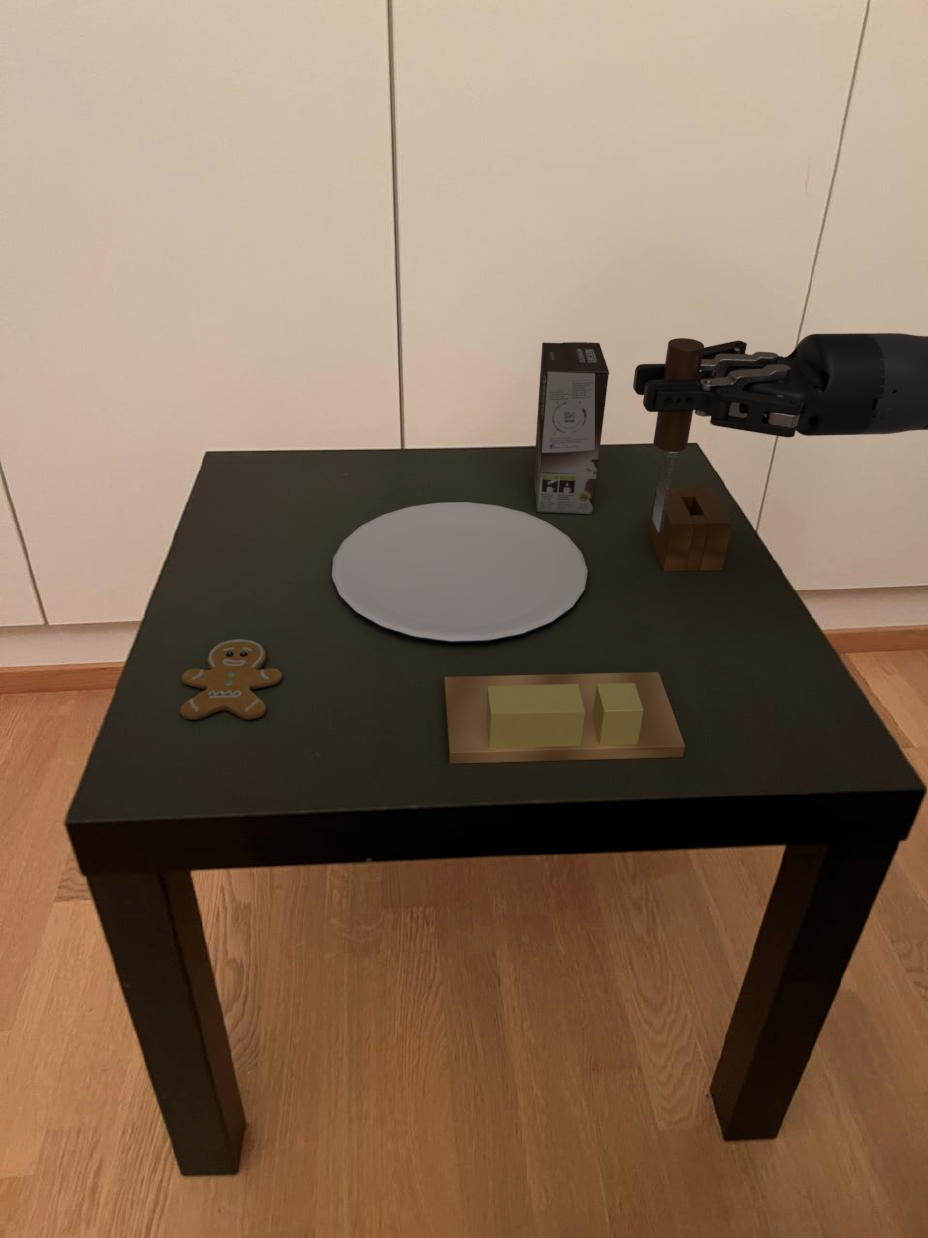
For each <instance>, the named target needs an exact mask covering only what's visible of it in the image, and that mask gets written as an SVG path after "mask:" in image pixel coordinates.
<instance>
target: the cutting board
mask: <svg viewBox="0 0 928 1238" xmlns="http://www.w3.org/2000/svg"><path fill="white" fill-rule="evenodd" d="M443 682H444V683H443V689H444V702H445V705H444V706H445V719H446V730H447V731H446V735H447V746H448V748H447V749H448V763H449V764H450V765H453V764H454V765H455V764H456V765H457V764H488V763H520V762H521V763H524V762H555V761H557V762H559V761H561V762H562V761H563V762H564V761H593V760H594V761H595V760H627V759H628V760H630V759H631V760H632V759H664V758H665V759H666V758H683V757H684V753H685V748H686V745H685V741H684V739H683V736H682V733H681V730H680V728H679V725H678V722H677V719H676V717H675V713H674V711H673V708H672V706H671V702H670V700H669V697H668V695H667V691H666V689H665V686H664V684H663V681H662V677H661V675H660V671H645V672H643V671H642V672H638V671H637V672H602V673H597V672H596V673H594V672H593V673H559V674H557V673H554V674H515V675H513V674H512V675H511V674H510V675H472V676H444V680H443ZM606 683H635V685H636V688H637V691H638V694H639V697H640V700H641V703H642V706H643V710H644V711H643V717H642V722H641V728H640V734H639V740H638V744H619V745H599V742H598V738H597V734H596V730H595V726H594V722H593V718H592V716H593V709H594V701H595V693H596V686H597V684H606ZM557 684H578V685H579V689H580V693H581V697H582V701H583V705H584V709H585V716H584V724H583V732H582V740H581V746H556V747H520V748H489V743H488V734H487V726H486V706H487V687H488V686H515V685H557Z"/></svg>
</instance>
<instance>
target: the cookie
mask: <svg viewBox="0 0 928 1238" xmlns="http://www.w3.org/2000/svg"><path fill="white" fill-rule="evenodd" d="M266 662H267V654H266V650H265V648H264V647H263V645H261V644H260V643H258V642H256V641H254V640H250V639H230V640H226V641H223V642H220V643H219V644H217V645H216V646H214V647H213V648H212V649H211V650H210V652H209V654H208V655H207V658H206V665H207V667H208V668H209V669H202V668H190V669H188V670H186V671H184V673H183V674H182V675H181V681H182V683H183V684H184V685H186V686H187V687H188V686H189V687H192V688H196V689H200V690H203V691H201V692H200V693H198V694H197V695H195V696H194V697H192V698H191V699H188V700H186V702H184V703H183V704H182V706H181V707H180V709H179V712H180V715H181V716H182V718H184V719H186V720H192V721H196V720H202V719H204V718H207V717H209V716H211V715H213V714H216V713H219V712H221V711H227V712H229V713H231V714H233V715H235V716H236V717H238V718H240V719H243V720H247V721H250V720H256V719H259V718H261V717H263V716H264V715H265V713H266V712H267V706H266V704H265V703H264V701H263V700H261V698H260V697H258V696H257V695H256V694H255V693H254V692H253V691H254V690H258V689H263V688H268V687H272V686H275V685H277V684H279V683H280V682H281V681H282V679H283V674H282V672H281V671H280V670H279V669H277V668H269V667H268V668H264V669H262V668H263V667H264V666H265V664H266Z"/></svg>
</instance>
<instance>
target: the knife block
mask: <svg viewBox="0 0 928 1238" xmlns="http://www.w3.org/2000/svg"><path fill="white" fill-rule="evenodd" d="M656 491H657V488H655V490H654V496H653V501H652V507H651V515H650V521H649V528H648V534H647V537H648V538H649V541H650V543H651V546H652V548H653V550H654V552H655V555H656V558H657V560H658V563H659V565H660V566H661V567H660V568H661V569H662V572H699V571H700V572H709V571H710V572H712V571H713V572H714V571H716V572H717V571H719V572H720V571H723V569H724V565H725V560H726V554H727V550H728V545H729V540H730V535H731V530H732V527H733V522H732V520H731V517H730V516H729V514H728V513H727V511H726V509H725V507H724V506H723V504H722V502H721V500H720V499H719V497H718V495H717V494H716V492H715V490H714V489H713V488H669V495H668V501H667V507H666V513H665V519H664V525H663V531H662V534H659V533H658V531H657V529H656V526H655V524H654V522H653V520H652V517H653V511H654V504H655V498H656Z"/></svg>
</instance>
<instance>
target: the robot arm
mask: <svg viewBox="0 0 928 1238" xmlns="http://www.w3.org/2000/svg"><path fill="white" fill-rule="evenodd" d="M747 345H748V343H747V342H745V341H743V340H733V341H729V342H724V343H719V344H715V345H710V346H704V351H703V356H702V362H701V368H700V374H699V380H698V382H697V381H696V379H688V380H683V379H682V380H663V374H664V367H665V363H640V364H638V365H637V366H636V367H635V369H634V376H633V383H632V389H633V390H634V392H635V394H637V395H638V396H643V400H642V406H643V407H644V409H645V410H646V411H647V412H648V413H658V412H681V411H693V412H694V414H695V416H696V415H697V416H699V417H705V418H706V417H710V420H709V424H710V425H712V426H715V427H721V428H726V429H732V430H739V431H744V432H751V433H757V434H762V435H767V436H768V435H769V436H775V437H781V438H793V437H795V435H796V432H797V433H798V434H800V435H802V436H806V437H813V436H815V437H816V436H820V437H821V436H863V435H865V436H866V435H892V434H899V433H905V432H913V431H915V432H916V431H928V335H915V334H908V333H900V332H899V333H898V332H860V333H859V332H858V333H853V332H852V333H848V332H847V333H812V334H808V335H807V336H805V337H803V338H802V339H801V340H800V341H799V343H798V344H797V345H796V347H795V348H794V350H793V351H791V353H790V354H788V355H787V356H782V355H779V354H777V353H776V352H772V351H756V352H754V353H752V354H748V353H746V351H747Z"/></svg>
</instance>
